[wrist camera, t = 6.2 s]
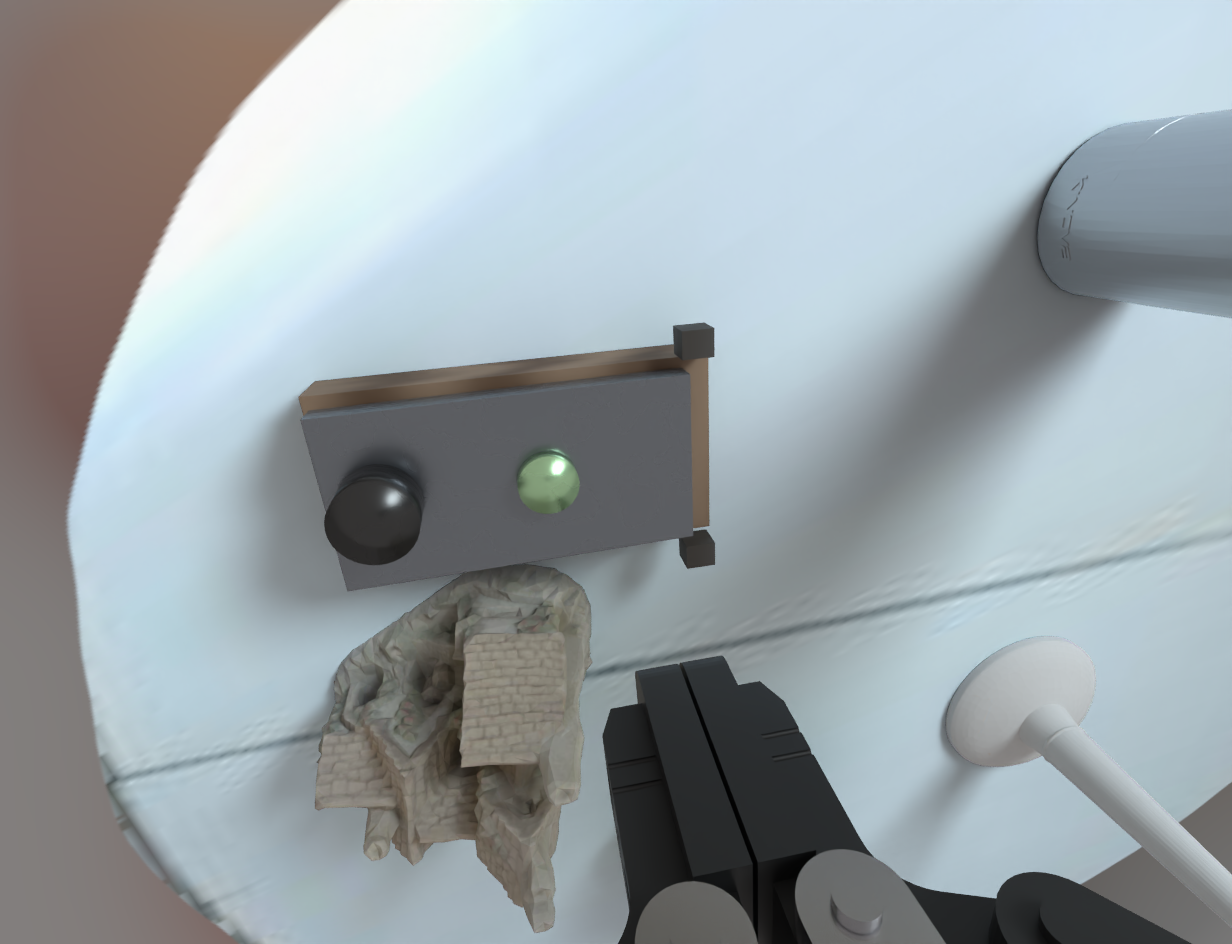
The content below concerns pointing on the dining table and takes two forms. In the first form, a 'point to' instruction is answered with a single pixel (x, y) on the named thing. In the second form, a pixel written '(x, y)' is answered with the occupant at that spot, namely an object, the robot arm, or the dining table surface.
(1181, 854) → the candlestick
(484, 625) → the miniature castle
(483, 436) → the plate
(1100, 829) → the dining table surface
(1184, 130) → the robot arm
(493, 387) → the brown boxy piece
